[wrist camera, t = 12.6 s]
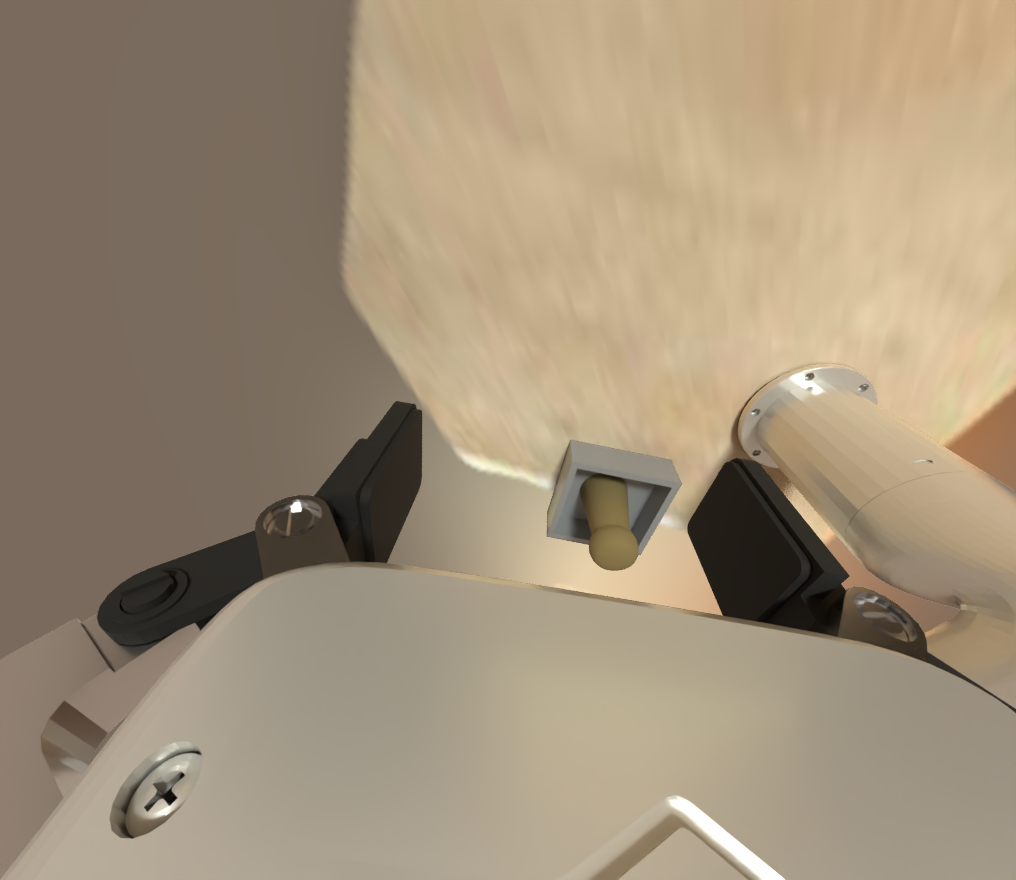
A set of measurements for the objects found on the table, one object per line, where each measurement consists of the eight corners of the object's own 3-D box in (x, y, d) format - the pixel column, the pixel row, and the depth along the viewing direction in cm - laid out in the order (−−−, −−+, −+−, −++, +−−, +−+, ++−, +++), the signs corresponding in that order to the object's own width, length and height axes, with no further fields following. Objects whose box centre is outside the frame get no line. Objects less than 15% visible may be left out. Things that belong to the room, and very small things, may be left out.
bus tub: (671, 460, 44) (682, 483, 40) (633, 529, 51) (640, 555, 47) (570, 439, 44) (572, 461, 40) (547, 512, 51) (546, 536, 47)
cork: (584, 511, 49) (592, 581, 40) (575, 477, 46) (580, 545, 37) (630, 504, 47) (649, 575, 38) (623, 468, 44) (642, 537, 35)
